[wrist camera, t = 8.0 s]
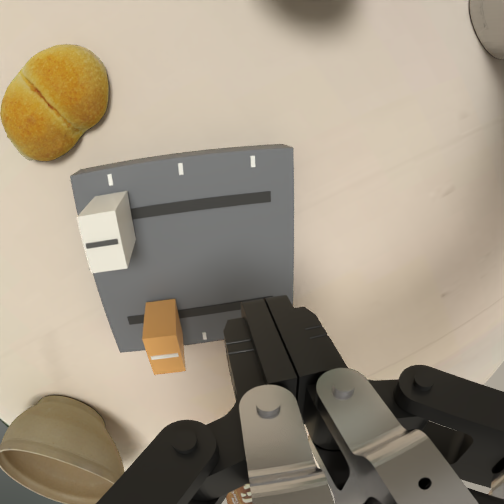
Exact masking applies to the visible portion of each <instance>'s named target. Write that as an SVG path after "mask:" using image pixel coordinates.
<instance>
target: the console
mask: <svg viewBox="0 0 504 504" xmlns="http://www.w3.org/2000/svg"><path fill="white" fill-rule="evenodd" d="M70 178H71V183H72V189H73V194H74V199H75V204H76V209H77V213H78V215H79V214H80V213H81V211H82V210H83V209H84V208H85V207H86V206H87V205H88V204H89V202H90V201H91V200H92V199H93V198H94V197H95V196H100V195H106V194H111V193H117V192H123V191H127V192H128V198H129V204H130V210H131V216H132V221H133V226H134V232H135V237H136V241H135V244H134V248H133V251H132V255H131V258H130V262H129V265H128V268H127V269H120V270H112V271H105V272H98V273H93V275H94V279H95V282H96V285H97V288H98V292H99V295H100V298H101V301H102V304H103V307H104V310H105V313H106V316H107V318H108V321H109V324H110V327H111V330H112V332H113V335H114V338H115V340H116V343H117V345H118V348H119V351H120V353H121V352H131V351H141V350H146V349H145V346H144V343H143V340H142V335H143V324H144V315H145V306H146V302H154V301H162V300H169V299H175V300H176V305H177V310H178V314H179V319H180V324H181V328H182V332H183V345H190V344H197V343H204V342H211V341H218V340H224V333H223V331H224V328H225V325H226V323H227V320H230V319H236V318H242V317H241V302H245V301H251V300H257V299H264V298H269V297H275V296H281V295H287V296H288V298H289V300H290V302H291V304H292V305H293V268H294V166H293V148H292V147H290V146H287V145H284V144H274V145H258V146H244V147H232V148H221V149H211V150H201V151H192V152H184V153H176V154H169V155H161V156H154V157H148V158H141V159H135V160H129V161H123V162H118V163H112V164H107V165H101V166H96V167H91V168H86V169H81V170H79V171H78V172H76V173H74V174H73V175H71V176H70Z"/></svg>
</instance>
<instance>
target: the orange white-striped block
mask: <svg viewBox="0 0 504 504" xmlns="http://www.w3.org/2000/svg"><path fill="white" fill-rule="evenodd" d="M142 340H143V343H144V346H145V349H146V352H147V355H148V358H149V361H150V364H151V367H152V369H153V372H154V375H156V374H165V373H173V372H181V371H186V370H185V358H184V345H183V332H182V328H181V324H180V319H179V314H178V310H177V305H176V300H175V299H169V300H162V301H154V302H146V306H145V315H144V324H143V335H142Z"/></svg>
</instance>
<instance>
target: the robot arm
mask: <svg viewBox="0 0 504 504" xmlns="http://www.w3.org/2000/svg"><path fill="white" fill-rule="evenodd" d="M470 15H471V19H472V23H473V26H474V29H475V31H476V33H477V36H478V38H479V39H480V41H481V43H482V44H483V46H484V47H485V49H486V50H487V51H488V52H489V53H490V54H491V55H492V56H493V57H495V58H497V59H504V0H470ZM241 317H242V318H236V319H230V320H227V323H226V325H225V328H224V331H223V333H224V340H225V347H226V353H227V360H228V366H229V371H230V375H231V380H232V385H233V389H234V394H235V398H236V403H235V405H234V407H233V408H232V410H231V411H230V412H229V413H228V414H226V415H225V416H224V417H222V418H220V419H218V420H216V421H214V422H211V423H209V424H207V425H205V424H203V423H201V422H198V421H193V420H181V421H177V422H174V423H171V424H169V425H168V426H166V427H165V428H164V429H163V430H162V431H161V432H160V433H159V434H158V435H157V436H156V438H155V439H154V440H153V441H152V442H151V443H150V444H149V446H148V447H147V448H146V449H145V450H144V451H143V452H142V453H141V455H140V456H139V457H138V458H137V459H136V460H135V461H134V462H133V464H132V465H131V466H130V467H129V468H128V469H127V470H126V471H125V472H124V474H123V475H122V476H121V477H120V478H119V479H118V480H117V481H116V482H115V483H114V484H113V486H112V487H111V488H110V489H109V490H108V491H107V492H106V493H105V494H104V495H103V496H102V497H101V498H100V500H99V501H98V502H97V503H96V504H221V503H222V502H223V501H224V499H225V498H226V496H227V494H228V493H229V492H231V491H233V490H235V489H238V488H240V487H242V486H244V485H246V484H248V483H250V490H251V496H252V503H253V504H334V501H333V498H332V495H331V492H330V488H331V490H332V492H333V494H334V498H335V504H504V392H502V391H499V390H496V389H493V388H490V387H487V386H484V385H481V384H478V383H475V382H472V381H469V380H466V379H463V378H460V377H457V376H455V375H452V374H449V373H446V372H443V371H440V370H437V369H435V368H432V367H429V366H425V365H414V366H410V367H408V368H406V369H405V370H404V371H403V372H402V373H401V375H400V377H399V380H381V381H373V380H367V379H366V378H365V377H364V376H363V375H362V374H361V373H359V372H358V371H355V370H353V369H349V368H348V367H347V366H346V364H345V362H344V361H343V359H342V357H341V356H340V354H339V352H338V351H337V349H336V347H335V346H334V344H333V342H332V341H331V339H330V338H329V336H327V333H326V331H325V329H324V328H323V327H322V324H321V323H320V321H319V320H318V318H317V316H316V315H315V314H314V313H312V312H311V311H309V310H308V309H307V308H305V307H299V308H294V307H293V305H292V304H291V302H290V300H289V298H288V296H287V295H281V296H275V297H269V298H264V299H257V300H251V301H245V302H241ZM430 421H431V422H430ZM433 422H434V423H433ZM436 423H437V424H436ZM304 424H305V425H306V427H307V429H308V432H309V436H308V438H307V434H306V431H305V427H304ZM438 424H440V425H438ZM441 425H443V426H441ZM444 426H445V427H444ZM447 427H448V428H447ZM450 428H451V429H450ZM453 429H454V430H453ZM456 430H457V431H456ZM312 453H313V454H312ZM313 455H314V457H315V459H316V461H317V463H318V465H319V467H320V469H318V468H317V466H316V464H315V461H314V458H313ZM461 479H462V480H465V481H468V482H472V483H475V484H479V485H482V486H486V487H489V488H491V490H490V491H489V494H484V493H482V492H478V491H475V490H472V489H469V488H467V487H466V486H465V485H464V483H463V482H462V481H461ZM328 484H329V486H330V488H329V486H328Z"/></svg>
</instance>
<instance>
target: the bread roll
mask: <svg viewBox="0 0 504 504" xmlns="http://www.w3.org/2000/svg"><path fill="white" fill-rule="evenodd" d="M108 93H109V86H108V78H107V73H106V69H105V67H104V65H103V63H102V62H101V60H100V59H99V58H98V57H97V56H96V55H95V54H94V53H93V52H91V51H90V50H88V49H86V48H84V47H81V46H78V45H70V44H69V45H68V44H66V45H56V46H53V47H51V48H48V49H46V50H43V51H41V52H39V53H37V54H36V55H34V56H33V57H32V58H31V59H30V60H29V61H28V62H27V63H26V64H25V66H24V67H23V68H22V69H21V71H20V72H19V73H18V74H17V76H16V77H15V78H14V79H13V81H12V82H11V83H10V85H9V86H8V88H7V90H6V92H5V95H4V97H3V100H2V104H1V112H0V115H1V120H2V124H3V126H4V129H5V132H6V133H7V137H8V138H9V139H10V140H11V142H12V143H13V145H14V146H15V147H16V148H17V150H18V151H19V152H20V154H21V155H23V156H24V157H25V158H26V159H28V160H39V161H51V160H54V159H56V158H58V157H60V156H62V155H64V154H65V153H67V152H68V151H69V150H70V149H71V148H72V147H73V146H74V145H75V144H76V142H77V141H78V140H79V138H80V137H81V136H82V134H83V133H84V132H85V131H86V130H87V129H89V128H91V127H93V126H94V125H95V124H97V123H98V122H99V121H100V119H101V118H102V117H103V115H104V114H105V111H106V108H107V103H108Z"/></svg>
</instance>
